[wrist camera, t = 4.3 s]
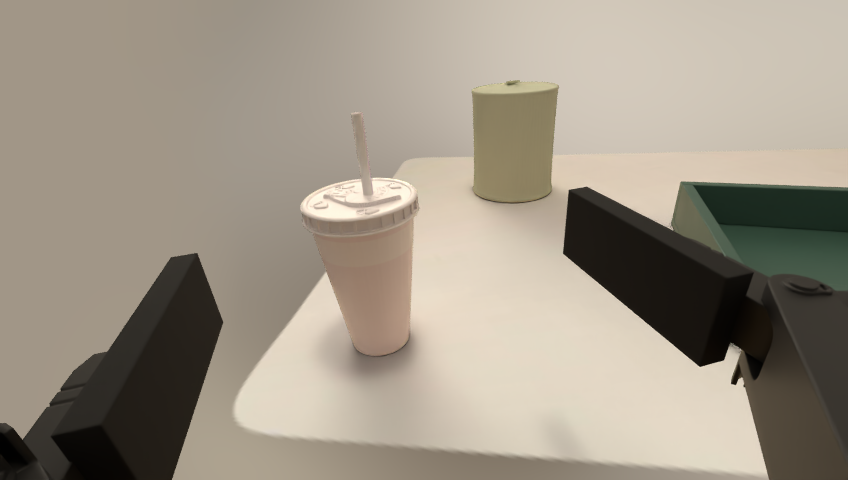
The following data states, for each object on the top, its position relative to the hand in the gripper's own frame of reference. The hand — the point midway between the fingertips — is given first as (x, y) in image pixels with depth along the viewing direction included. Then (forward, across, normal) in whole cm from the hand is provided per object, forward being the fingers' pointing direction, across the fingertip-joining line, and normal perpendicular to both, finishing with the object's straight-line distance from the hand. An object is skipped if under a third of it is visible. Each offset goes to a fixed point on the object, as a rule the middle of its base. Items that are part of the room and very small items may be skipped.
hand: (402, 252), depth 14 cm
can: (+30, +18, -10) cm, 36 cm away
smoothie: (+8, -1, -10) cm, 13 cm away
